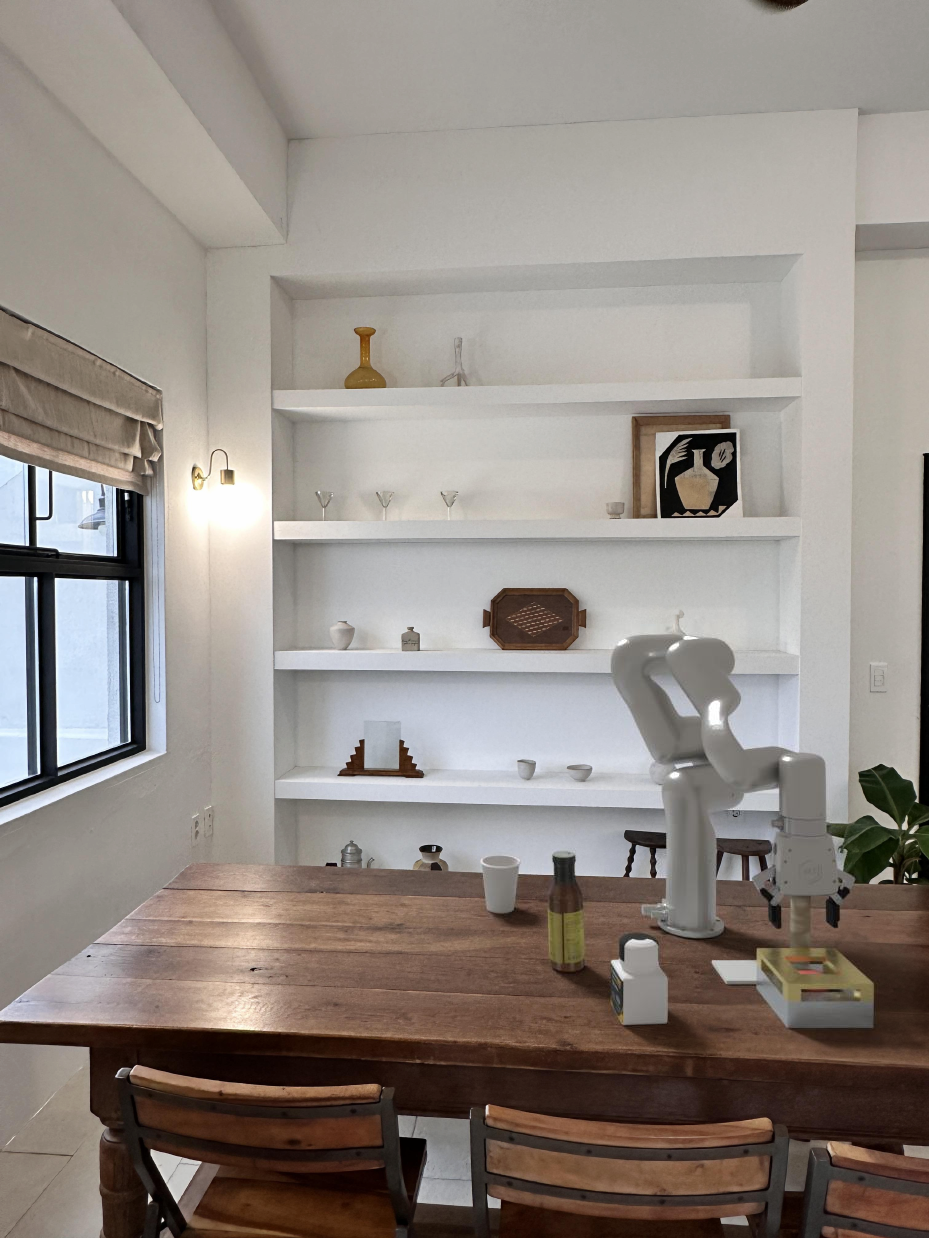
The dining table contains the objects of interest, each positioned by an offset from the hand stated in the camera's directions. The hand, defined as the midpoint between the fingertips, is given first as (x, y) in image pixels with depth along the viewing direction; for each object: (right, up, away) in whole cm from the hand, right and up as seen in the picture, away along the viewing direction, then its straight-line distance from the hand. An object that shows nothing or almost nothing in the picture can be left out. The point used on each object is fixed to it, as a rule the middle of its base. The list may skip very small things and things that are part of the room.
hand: (804, 925), depth 145 cm
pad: (-10, -9, +1) cm, 13 cm away
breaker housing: (-3, -9, -11) cm, 15 cm away
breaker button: (-3, -6, -11) cm, 13 cm away
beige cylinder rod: (0, -9, +1) cm, 9 cm away
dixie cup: (-51, -8, +31) cm, 60 cm away
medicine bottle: (-31, -9, -14) cm, 35 cm away
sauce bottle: (-40, -9, +3) cm, 41 cm away
